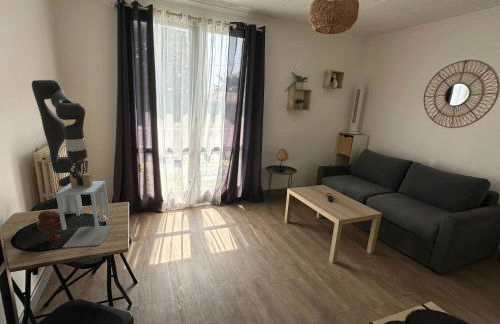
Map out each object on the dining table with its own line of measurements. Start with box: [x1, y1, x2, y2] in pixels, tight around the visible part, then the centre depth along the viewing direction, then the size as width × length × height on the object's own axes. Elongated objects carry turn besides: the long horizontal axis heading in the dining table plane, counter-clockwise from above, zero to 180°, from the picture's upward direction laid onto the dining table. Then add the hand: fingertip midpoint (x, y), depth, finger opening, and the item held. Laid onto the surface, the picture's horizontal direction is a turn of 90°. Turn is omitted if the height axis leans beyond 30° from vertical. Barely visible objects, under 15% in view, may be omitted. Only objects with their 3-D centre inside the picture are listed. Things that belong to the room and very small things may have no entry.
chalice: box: [95, 187, 109, 223], centre depth 139 cm, size 7×7×18 cm
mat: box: [61, 224, 114, 249], centre depth 126 cm, size 18×16×1 cm
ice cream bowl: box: [35, 210, 62, 243], centre depth 121 cm, size 11×11×15 cm
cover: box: [55, 173, 110, 231], centre depth 120 cm, size 15×15×24 cm
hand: (81, 184), depth 118 cm, fingers closed on cover, 2 cm apart
